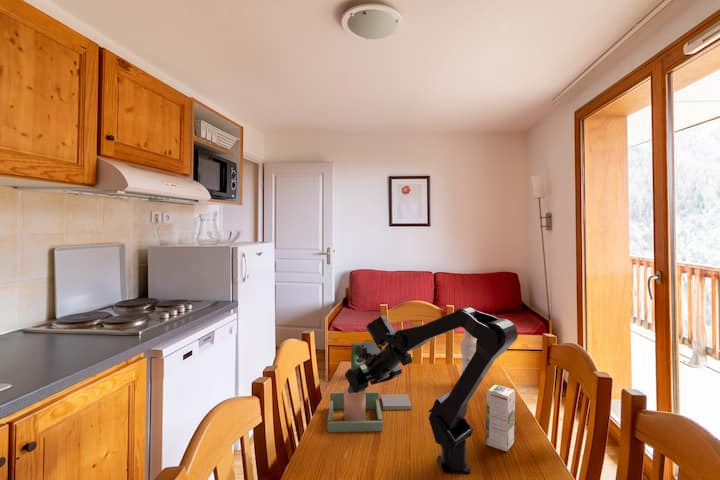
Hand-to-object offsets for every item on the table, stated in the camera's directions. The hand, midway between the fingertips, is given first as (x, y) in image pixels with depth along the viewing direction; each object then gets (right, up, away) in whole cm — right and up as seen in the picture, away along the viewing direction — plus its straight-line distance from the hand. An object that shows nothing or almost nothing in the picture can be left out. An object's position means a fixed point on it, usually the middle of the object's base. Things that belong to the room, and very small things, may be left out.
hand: (360, 387), depth 113 cm
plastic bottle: (+41, -10, +28) cm, 51 cm away
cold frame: (-2, -10, +2) cm, 10 cm away
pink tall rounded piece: (-2, -10, +2) cm, 10 cm away
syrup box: (+37, -10, -13) cm, 40 cm away
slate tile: (+12, -10, +12) cm, 20 cm away
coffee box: (+1, -10, +37) cm, 39 cm away
